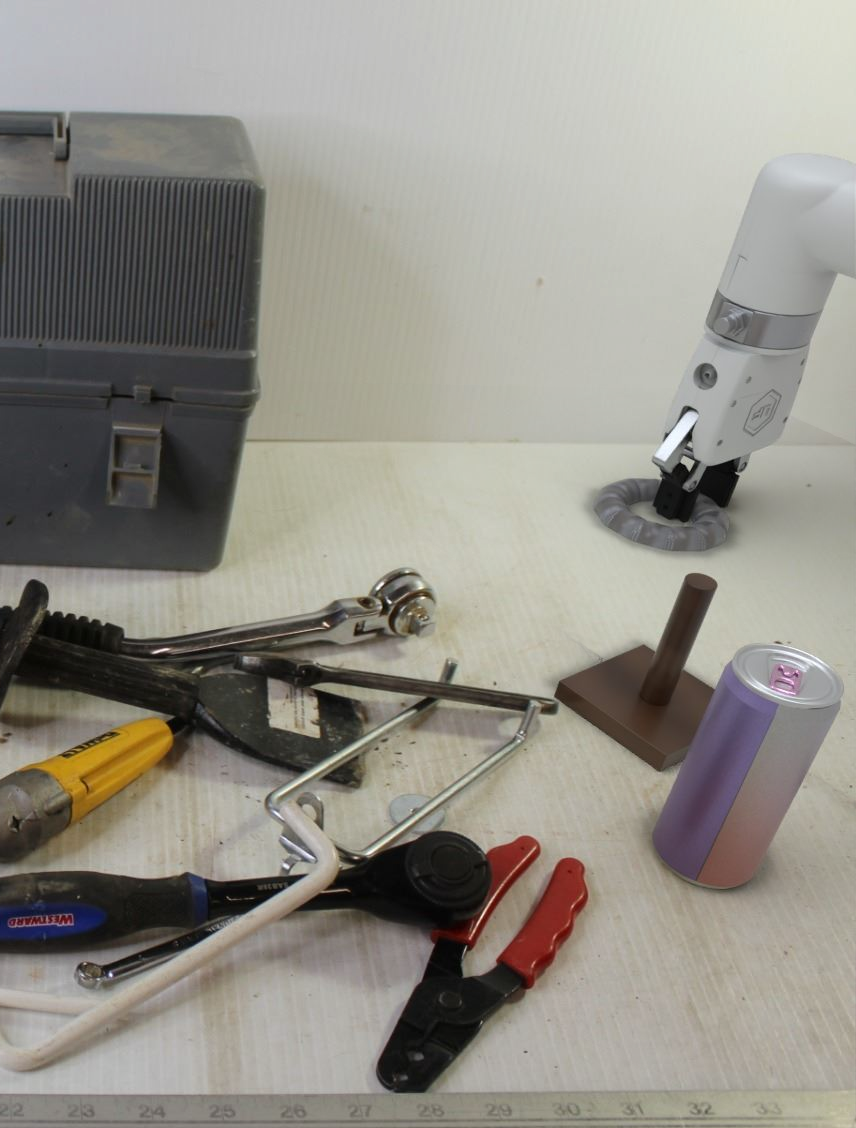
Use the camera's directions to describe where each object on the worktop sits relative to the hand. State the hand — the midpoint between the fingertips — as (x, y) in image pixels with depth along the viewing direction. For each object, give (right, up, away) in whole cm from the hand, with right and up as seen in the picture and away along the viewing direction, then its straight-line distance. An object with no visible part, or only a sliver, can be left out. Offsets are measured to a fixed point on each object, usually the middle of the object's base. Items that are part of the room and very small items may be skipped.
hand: (687, 512), depth 116 cm
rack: (-14, -16, -21) cm, 30 cm away
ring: (-3, 0, -2) cm, 4 cm away
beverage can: (-17, -24, -32) cm, 43 cm away
